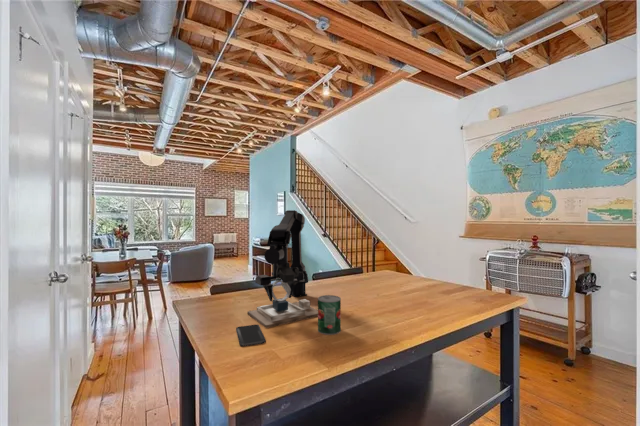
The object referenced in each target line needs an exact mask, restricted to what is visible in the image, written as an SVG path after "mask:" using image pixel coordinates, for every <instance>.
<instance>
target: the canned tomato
mask: <svg viewBox="0 0 640 426" xmlns="http://www.w3.org/2000/svg"><path fill="white" fill-rule="evenodd" d="M341 300H342V299H341V297H340V296H337V295H333V294H332V295H331V294H326V295H320V296H318V297H317V310H318V316H317V331H318V333H320V334H322V335H325V336H327V335H328V336H333V335H338V334H340V333H341V332H342V328H341V326H342V325H341V323H342V322H341V321H342V318H341V317H342V315H341V312H342V311H341V308H342V307H341V305H342V304H341Z"/></svg>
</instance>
